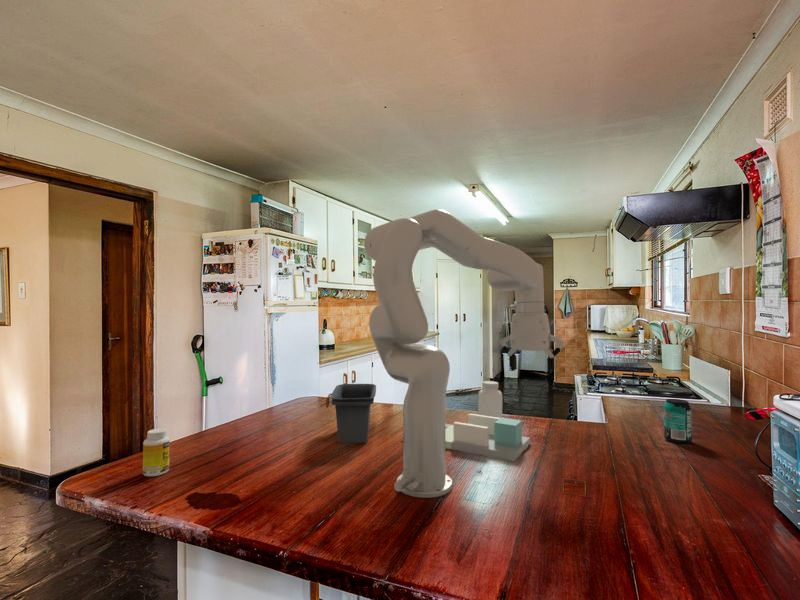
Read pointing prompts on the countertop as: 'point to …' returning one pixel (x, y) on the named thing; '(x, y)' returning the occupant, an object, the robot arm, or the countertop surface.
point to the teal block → (508, 432)
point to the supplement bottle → (156, 453)
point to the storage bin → (352, 411)
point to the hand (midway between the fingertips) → (531, 371)
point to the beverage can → (677, 421)
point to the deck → (480, 438)
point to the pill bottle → (490, 400)
